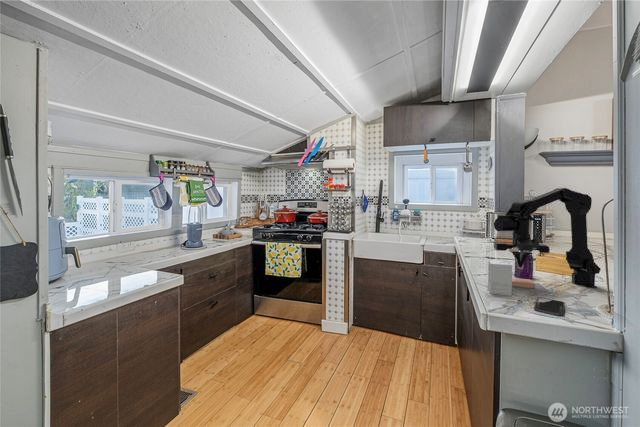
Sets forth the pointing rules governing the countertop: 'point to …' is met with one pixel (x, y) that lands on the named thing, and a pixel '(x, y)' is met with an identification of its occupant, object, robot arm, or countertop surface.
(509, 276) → the supplement box
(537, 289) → the mat
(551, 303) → the phone
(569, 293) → the countertop surface
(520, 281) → the tile
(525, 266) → the beverage can
